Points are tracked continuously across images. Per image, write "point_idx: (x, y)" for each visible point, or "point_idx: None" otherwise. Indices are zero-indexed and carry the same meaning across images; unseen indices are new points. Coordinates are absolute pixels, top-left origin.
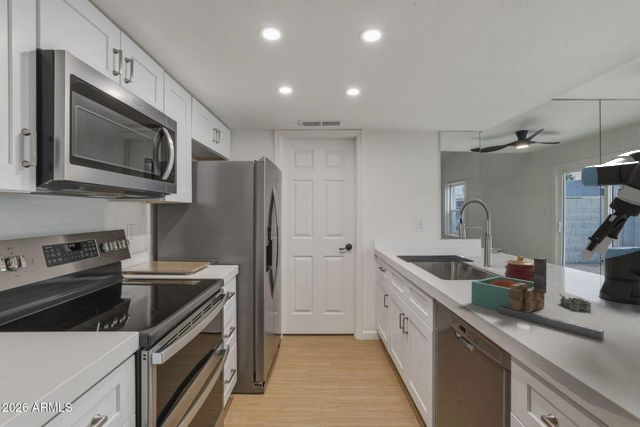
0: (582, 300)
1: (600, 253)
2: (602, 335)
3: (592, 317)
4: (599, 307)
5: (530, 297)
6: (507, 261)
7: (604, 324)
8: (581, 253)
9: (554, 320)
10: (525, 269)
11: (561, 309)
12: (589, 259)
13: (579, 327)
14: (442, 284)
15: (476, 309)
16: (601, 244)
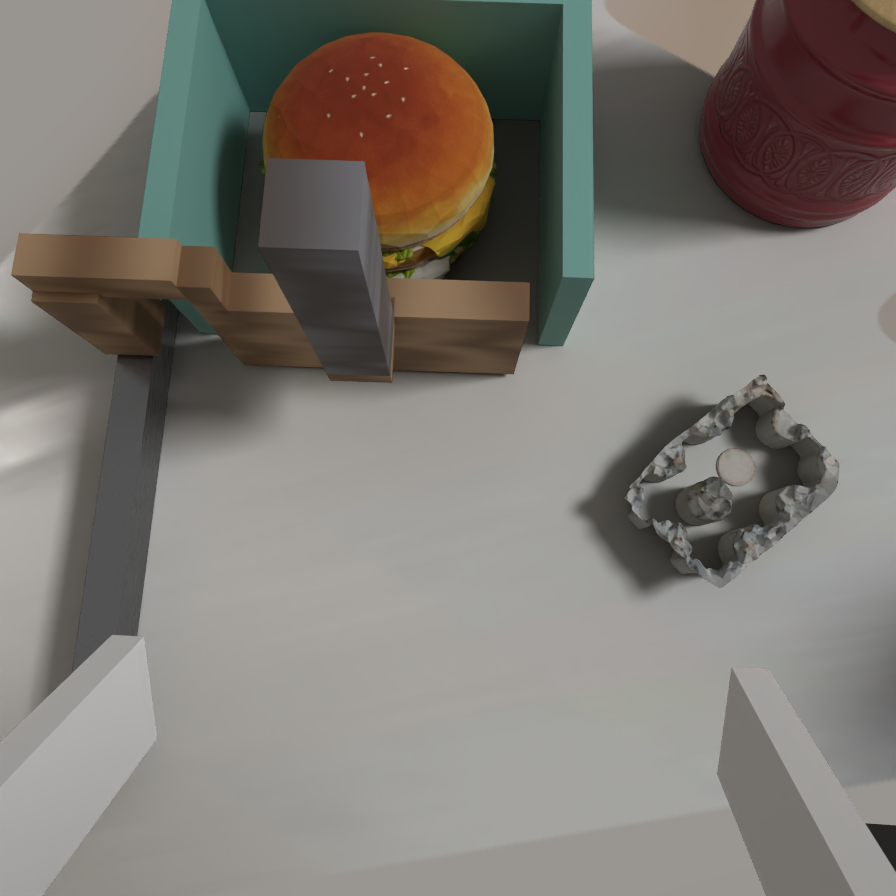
0: (787, 510)
1: (721, 761)
2: None
3: (539, 625)
4: (862, 589)
5: (286, 332)
6: None
7: (433, 710)
8: (83, 668)
9: (90, 547)
10: (829, 49)
11: (569, 452)
12: (149, 746)
13: None
14: None
15: (123, 163)
16: (783, 826)
